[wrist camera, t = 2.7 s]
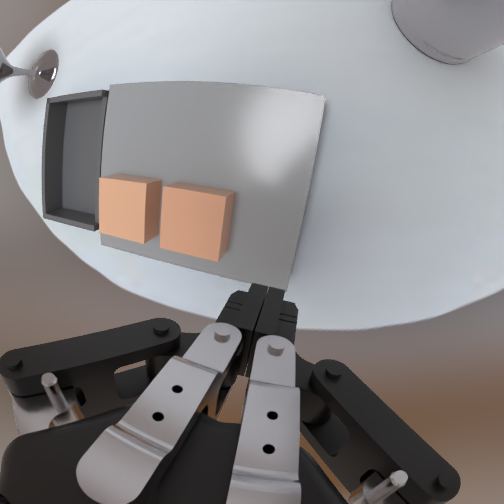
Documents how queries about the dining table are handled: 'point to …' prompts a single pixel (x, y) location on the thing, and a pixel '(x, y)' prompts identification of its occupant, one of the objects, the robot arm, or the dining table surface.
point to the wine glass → (33, 72)
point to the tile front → (196, 220)
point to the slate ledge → (221, 164)
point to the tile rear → (129, 207)
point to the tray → (73, 158)
